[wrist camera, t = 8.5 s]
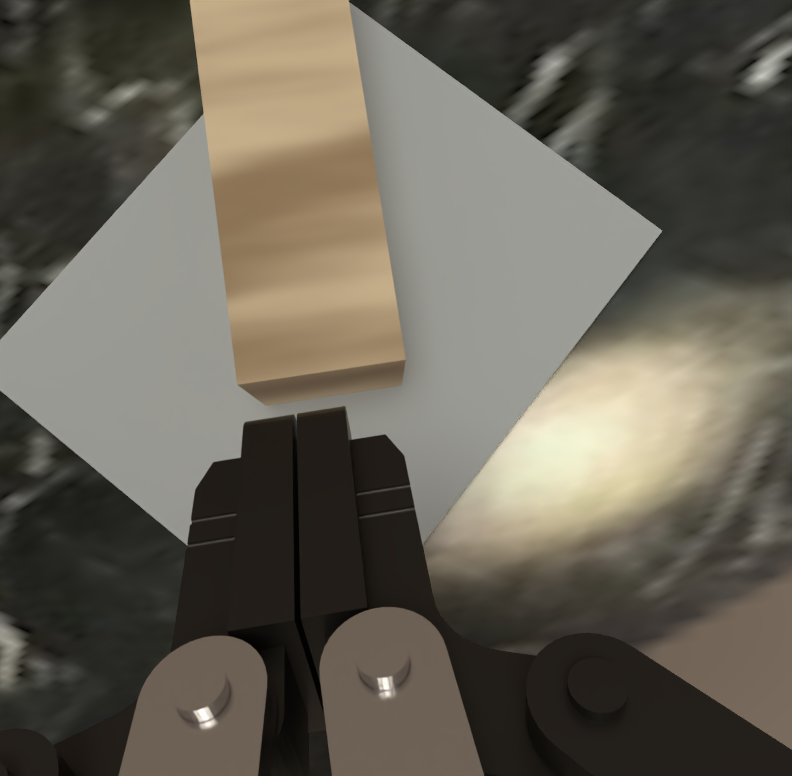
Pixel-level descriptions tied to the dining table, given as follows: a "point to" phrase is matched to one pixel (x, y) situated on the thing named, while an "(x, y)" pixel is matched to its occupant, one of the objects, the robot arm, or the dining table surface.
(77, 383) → the rubber mat
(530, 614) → the dining table surface
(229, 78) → the birch block
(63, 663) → the dining table surface
